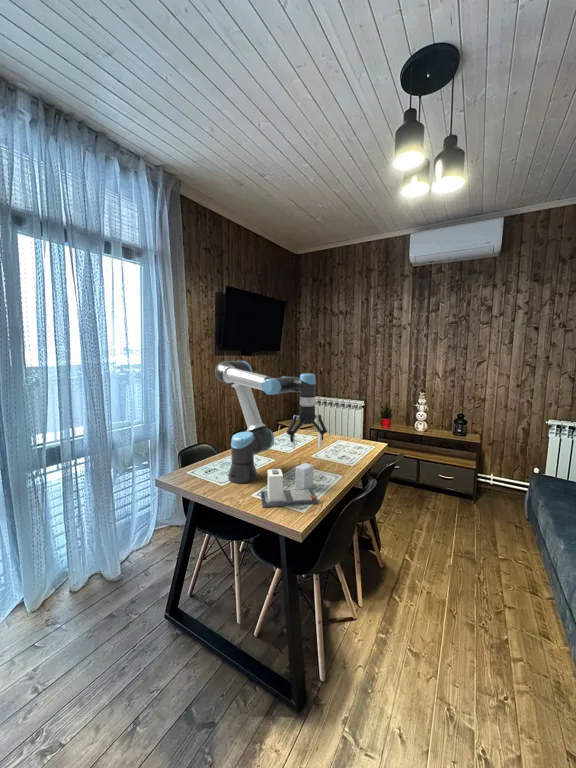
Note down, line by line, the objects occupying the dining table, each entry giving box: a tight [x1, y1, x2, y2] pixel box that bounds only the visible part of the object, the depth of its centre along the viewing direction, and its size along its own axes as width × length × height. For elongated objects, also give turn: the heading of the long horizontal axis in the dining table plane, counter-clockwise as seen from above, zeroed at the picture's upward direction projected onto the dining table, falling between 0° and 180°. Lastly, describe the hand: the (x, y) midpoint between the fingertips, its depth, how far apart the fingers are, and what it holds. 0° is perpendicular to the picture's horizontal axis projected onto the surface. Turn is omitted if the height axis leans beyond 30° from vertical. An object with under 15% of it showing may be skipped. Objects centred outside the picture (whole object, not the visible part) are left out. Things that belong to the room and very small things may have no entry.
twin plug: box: [267, 468, 284, 501], centre depth 137 cm, size 6×8×12 cm
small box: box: [294, 462, 314, 489], centre depth 152 cm, size 8×6×10 cm
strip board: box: [260, 488, 318, 508], centre depth 139 cm, size 24×12×2 cm, turn 99°
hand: (306, 447), depth 153 cm, fingers open, 13 cm apart
